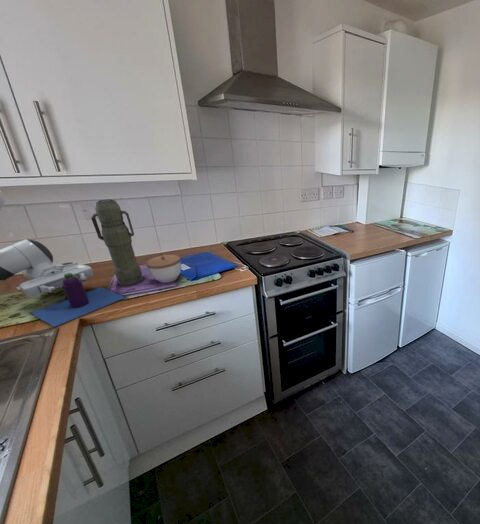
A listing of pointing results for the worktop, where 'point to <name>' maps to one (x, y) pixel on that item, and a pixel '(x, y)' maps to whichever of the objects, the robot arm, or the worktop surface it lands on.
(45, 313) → the napkin
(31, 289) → the robot arm
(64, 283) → the purple bottle
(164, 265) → the lidded bowl
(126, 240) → the thermos
